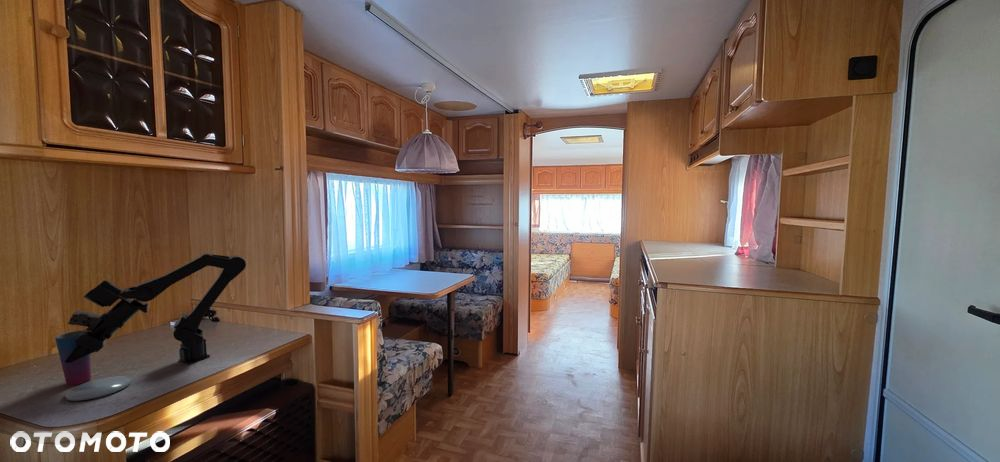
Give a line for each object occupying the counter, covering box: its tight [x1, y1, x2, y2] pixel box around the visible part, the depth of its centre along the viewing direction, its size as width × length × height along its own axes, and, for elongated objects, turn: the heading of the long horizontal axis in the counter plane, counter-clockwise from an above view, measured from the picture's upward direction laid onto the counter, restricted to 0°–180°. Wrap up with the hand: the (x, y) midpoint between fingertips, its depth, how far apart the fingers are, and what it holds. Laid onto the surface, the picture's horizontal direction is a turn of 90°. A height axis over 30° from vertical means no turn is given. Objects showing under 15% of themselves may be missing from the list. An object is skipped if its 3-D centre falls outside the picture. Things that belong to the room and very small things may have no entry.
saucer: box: [65, 375, 132, 402], centre depth 111 cm, size 13×13×1 cm
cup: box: [54, 329, 92, 387], centre depth 115 cm, size 7×7×15 cm
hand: (69, 358), depth 115 cm, fingers closed on cup, 6 cm apart
